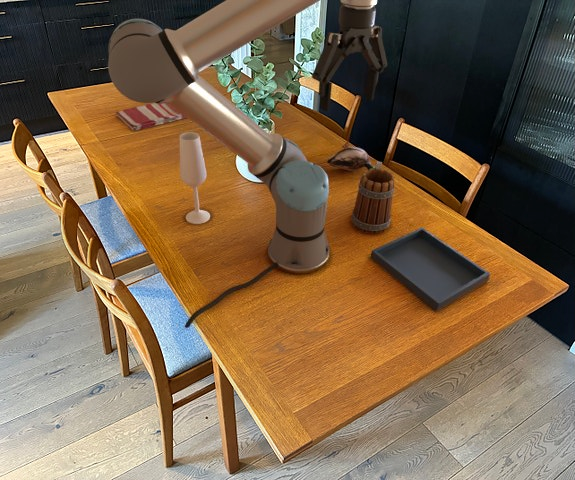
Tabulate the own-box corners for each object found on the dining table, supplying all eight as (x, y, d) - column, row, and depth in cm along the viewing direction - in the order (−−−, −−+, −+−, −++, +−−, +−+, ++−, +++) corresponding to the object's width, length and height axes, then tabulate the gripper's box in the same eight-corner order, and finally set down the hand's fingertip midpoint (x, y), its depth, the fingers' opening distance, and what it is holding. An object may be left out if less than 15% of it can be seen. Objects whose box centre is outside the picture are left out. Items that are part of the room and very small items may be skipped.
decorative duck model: (388, 160, 144) (350, 170, 137) (382, 180, 149) (345, 191, 142) (359, 136, 153) (322, 145, 146) (354, 156, 158) (318, 165, 151)
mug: (389, 237, 124) (399, 189, 114) (349, 231, 125) (356, 183, 116) (390, 205, 136) (399, 159, 127) (353, 200, 137) (360, 154, 128)
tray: (436, 311, 103) (439, 303, 102) (370, 257, 117) (371, 250, 115) (487, 280, 111) (490, 273, 110) (420, 234, 125) (422, 227, 124)
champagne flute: (186, 210, 131) (176, 130, 116) (210, 209, 131) (203, 130, 116) (184, 224, 125) (174, 142, 111) (209, 223, 126) (202, 142, 111)
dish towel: (191, 116, 180) (191, 110, 178) (133, 131, 168) (132, 124, 167) (171, 102, 190) (170, 96, 188) (115, 115, 178) (114, 109, 177)
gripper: (322, 15, 89) (314, 120, 102) (413, 2, 100) (396, 98, 113) (299, 7, 94) (294, 108, 107) (389, -4, 105) (375, 89, 118)
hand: (347, 103), depth 110 cm, fingers open, 13 cm apart
